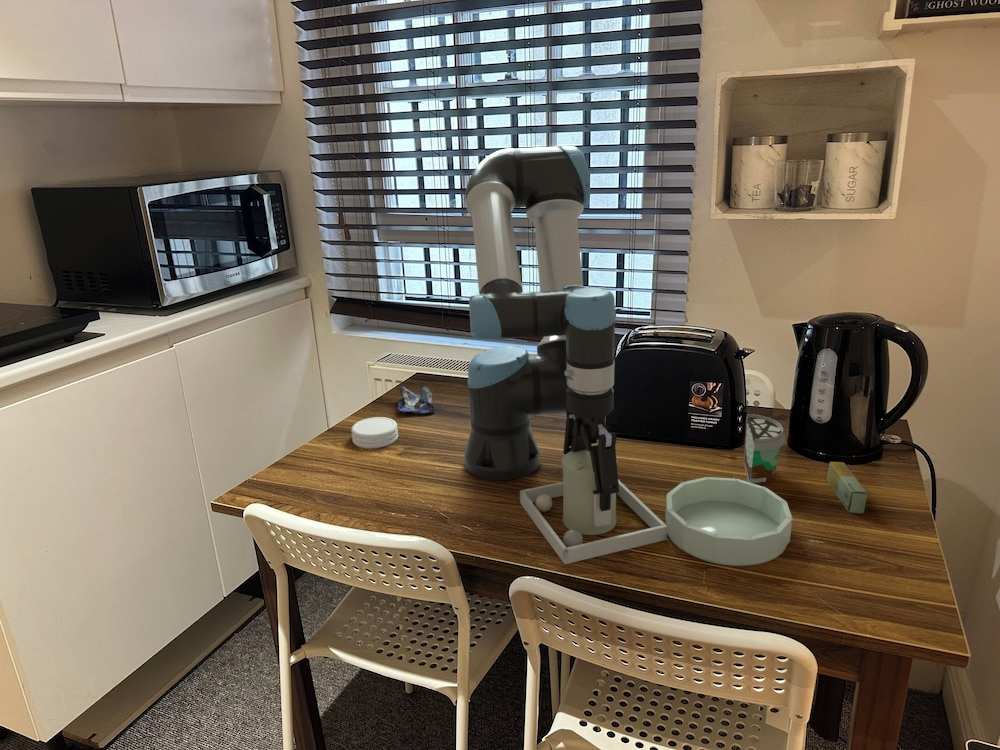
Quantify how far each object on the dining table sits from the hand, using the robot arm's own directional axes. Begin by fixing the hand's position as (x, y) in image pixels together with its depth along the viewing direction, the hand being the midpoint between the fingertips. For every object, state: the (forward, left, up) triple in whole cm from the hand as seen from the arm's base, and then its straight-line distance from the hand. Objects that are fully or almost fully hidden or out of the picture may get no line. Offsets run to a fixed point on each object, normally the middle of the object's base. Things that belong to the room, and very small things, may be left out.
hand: (589, 510), depth 120 cm
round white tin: (-48, -29, -2) cm, 56 cm away
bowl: (+11, +19, -2) cm, 22 cm away
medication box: (+10, +45, -2) cm, 46 cm away
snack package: (-62, -17, -3) cm, 64 cm away
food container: (-2, +37, -2) cm, 37 cm away
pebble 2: (+6, -6, -2) cm, 9 cm away
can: (0, 0, -2) cm, 2 cm away
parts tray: (0, 0, -2) cm, 2 cm away
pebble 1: (-6, -6, -2) cm, 9 cm away
